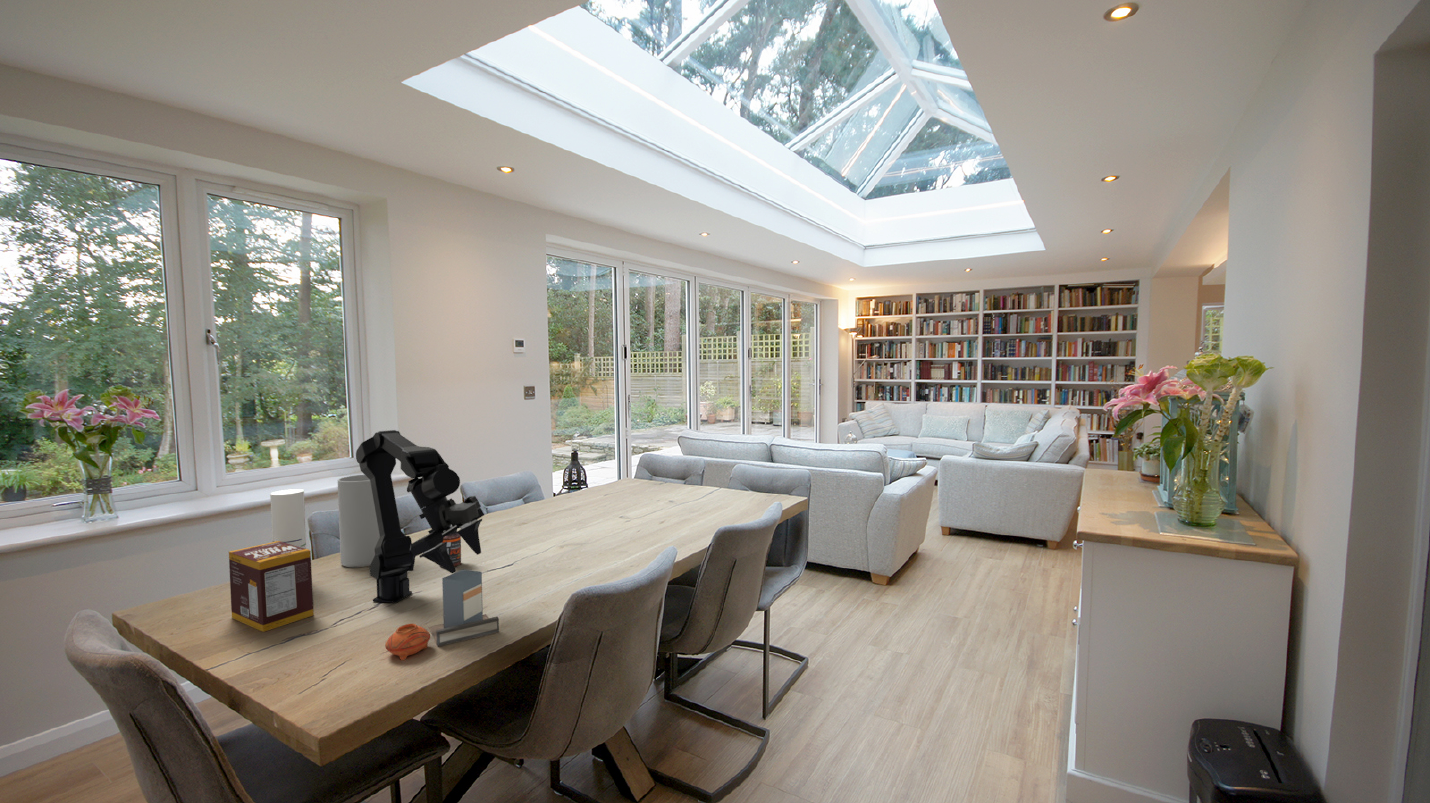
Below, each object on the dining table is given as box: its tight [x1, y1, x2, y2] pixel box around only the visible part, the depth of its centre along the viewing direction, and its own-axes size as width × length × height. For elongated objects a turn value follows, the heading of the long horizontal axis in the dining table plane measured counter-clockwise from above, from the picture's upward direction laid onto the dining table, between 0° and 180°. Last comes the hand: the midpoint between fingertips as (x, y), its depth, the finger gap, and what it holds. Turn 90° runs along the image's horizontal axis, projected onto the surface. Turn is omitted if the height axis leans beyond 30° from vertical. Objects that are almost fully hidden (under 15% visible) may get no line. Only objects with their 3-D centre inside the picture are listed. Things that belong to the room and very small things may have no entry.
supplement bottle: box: [439, 525, 462, 568], centre depth 174 cm, size 6×6×11 cm
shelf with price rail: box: [428, 613, 500, 648], centre depth 129 cm, size 11×12×4 cm
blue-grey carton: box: [441, 569, 484, 628], centre depth 128 cm, size 5×6×12 cm
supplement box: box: [228, 541, 315, 633], centre depth 138 cm, size 10×15×16 cm
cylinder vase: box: [337, 473, 380, 568], centre depth 177 cm, size 12×12×25 cm
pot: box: [384, 623, 431, 661], centre depth 119 cm, size 8×8×7 cm
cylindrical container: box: [269, 488, 307, 549], centre depth 157 cm, size 7×7×25 cm
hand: (467, 562), depth 136 cm, fingers open, 9 cm apart
